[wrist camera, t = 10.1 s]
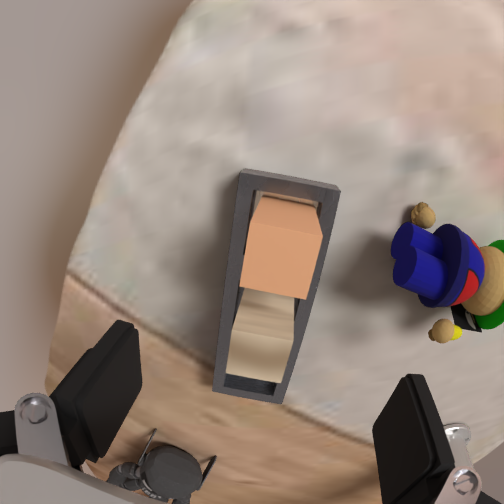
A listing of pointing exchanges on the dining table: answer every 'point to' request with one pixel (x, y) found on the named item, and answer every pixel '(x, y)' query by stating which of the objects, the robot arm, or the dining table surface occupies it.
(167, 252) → the dining table surface
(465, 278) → the toy
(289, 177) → the rail
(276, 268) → the terracotta block
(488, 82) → the dining table surface
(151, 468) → the robot
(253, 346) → the beech block
